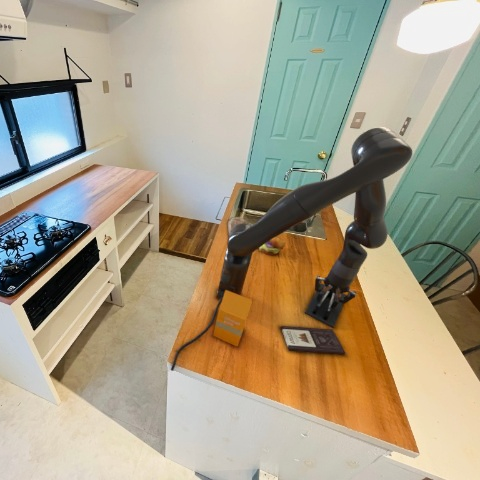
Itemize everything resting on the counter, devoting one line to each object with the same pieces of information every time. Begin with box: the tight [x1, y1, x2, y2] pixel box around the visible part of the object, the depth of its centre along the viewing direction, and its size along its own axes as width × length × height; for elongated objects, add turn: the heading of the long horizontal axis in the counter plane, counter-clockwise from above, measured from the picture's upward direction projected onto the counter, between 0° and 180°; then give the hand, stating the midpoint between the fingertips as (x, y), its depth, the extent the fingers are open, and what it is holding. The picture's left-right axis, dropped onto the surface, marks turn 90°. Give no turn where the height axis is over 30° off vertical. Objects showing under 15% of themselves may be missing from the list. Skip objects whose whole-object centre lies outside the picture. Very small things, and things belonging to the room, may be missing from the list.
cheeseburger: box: [258, 235, 286, 256], centre depth 129 cm, size 10×11×10 cm
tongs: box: [312, 291, 336, 320], centre depth 100 cm, size 16×5×3 cm, turn 138°
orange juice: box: [212, 290, 253, 347], centre depth 85 cm, size 8×9×20 cm
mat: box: [304, 283, 347, 329], centre depth 102 cm, size 21×10×1 cm, turn 138°
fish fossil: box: [227, 216, 248, 236], centre depth 146 cm, size 26×10×1 cm, turn 168°
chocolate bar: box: [280, 325, 346, 355], centre depth 88 cm, size 9×1×18 cm
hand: (325, 302), depth 101 cm, fingers open, 4 cm apart
